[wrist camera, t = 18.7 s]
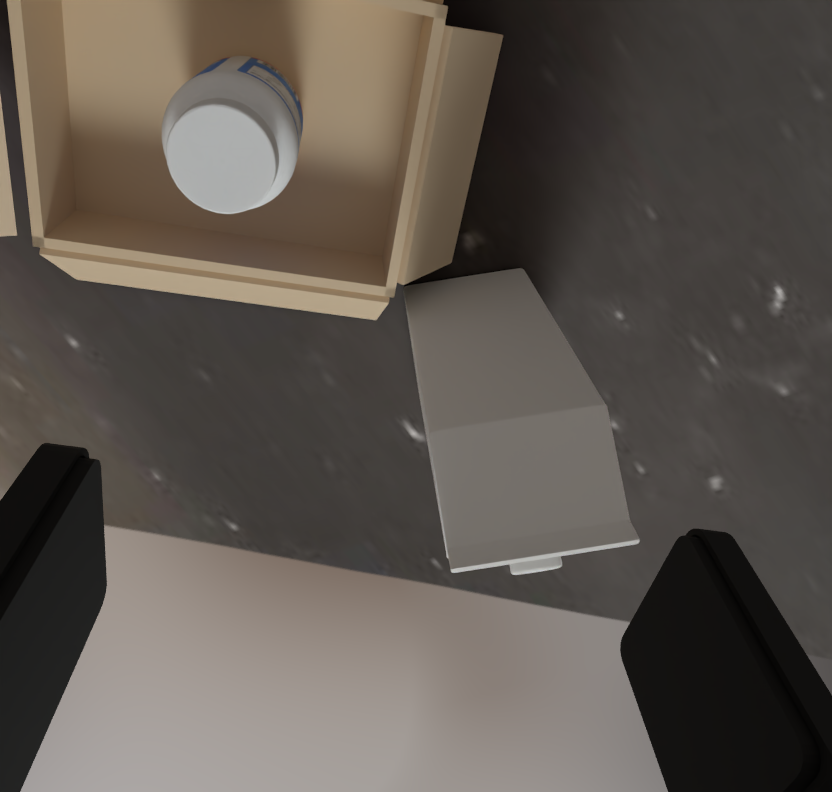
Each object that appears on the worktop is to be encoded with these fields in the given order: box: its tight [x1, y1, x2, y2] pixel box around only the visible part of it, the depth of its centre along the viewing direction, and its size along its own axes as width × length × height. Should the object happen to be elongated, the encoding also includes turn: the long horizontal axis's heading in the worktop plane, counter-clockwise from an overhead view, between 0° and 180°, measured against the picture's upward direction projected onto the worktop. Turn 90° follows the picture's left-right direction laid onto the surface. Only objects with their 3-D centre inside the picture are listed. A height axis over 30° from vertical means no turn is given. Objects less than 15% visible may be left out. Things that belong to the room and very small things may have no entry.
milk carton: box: [403, 268, 639, 575], centre depth 33 cm, size 7×7×19 cm
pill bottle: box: [162, 56, 303, 214], centre depth 29 cm, size 6×5×10 cm
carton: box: [7, 0, 503, 320], centre depth 32 cm, size 20×20×5 cm
